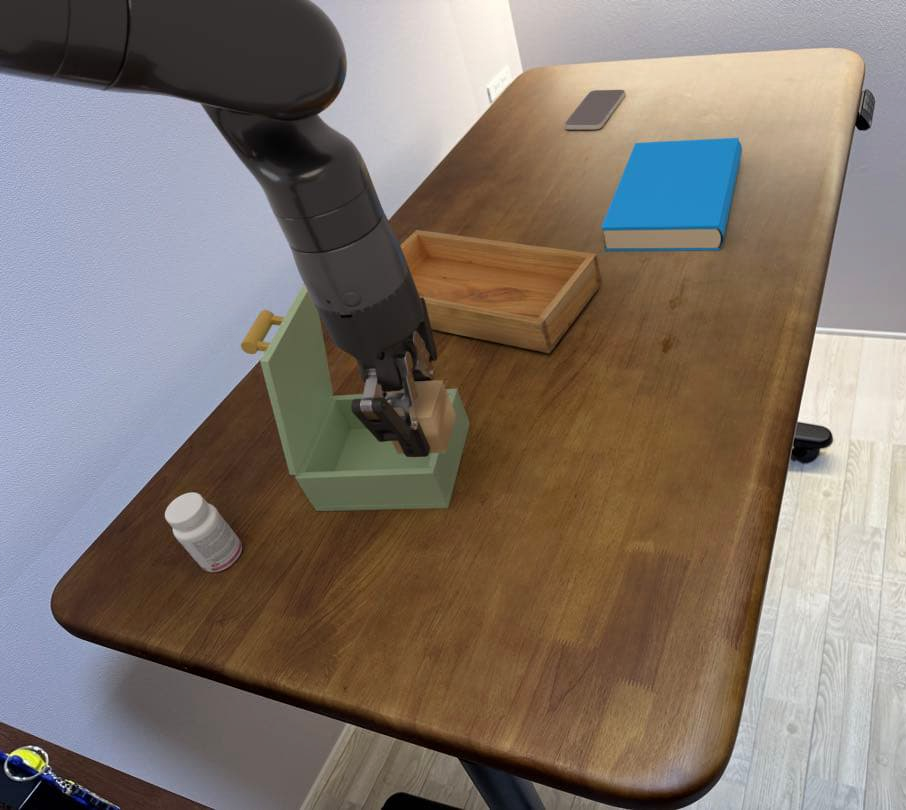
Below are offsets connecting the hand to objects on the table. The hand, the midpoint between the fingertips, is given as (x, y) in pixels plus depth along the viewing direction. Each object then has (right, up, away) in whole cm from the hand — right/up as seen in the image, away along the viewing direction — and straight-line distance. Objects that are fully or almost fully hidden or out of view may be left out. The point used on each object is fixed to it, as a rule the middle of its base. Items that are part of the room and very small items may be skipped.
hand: (425, 432), depth 70 cm
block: (0, 0, 0) cm, 0 cm away
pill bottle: (-24, -14, +15) cm, 32 cm away
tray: (+2, +16, +40) cm, 43 cm away
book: (+31, +33, +49) cm, 66 cm away
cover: (-14, +5, +12) cm, 19 cm away
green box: (-6, -5, +20) cm, 21 cm away
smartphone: (+21, +57, +77) cm, 98 cm away
